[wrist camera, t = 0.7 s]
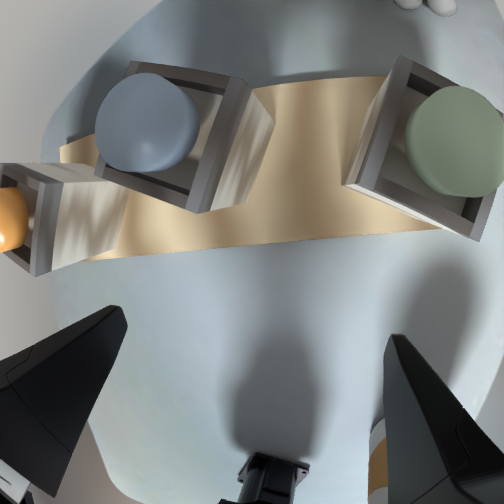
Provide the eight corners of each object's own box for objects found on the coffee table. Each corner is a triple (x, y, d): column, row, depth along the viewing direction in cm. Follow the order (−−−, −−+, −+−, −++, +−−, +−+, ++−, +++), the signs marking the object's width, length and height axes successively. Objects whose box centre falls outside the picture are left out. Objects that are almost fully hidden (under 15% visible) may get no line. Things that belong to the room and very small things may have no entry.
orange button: (26, 257, 16) (3, 264, 14) (-3, 235, 16) (-24, 240, 14) (32, 196, 15) (7, 199, 13) (2, 180, 15) (-20, 182, 13)
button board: (449, 225, 20) (527, 254, 10) (80, 259, 28) (-2, 290, 17) (429, 80, 18) (489, 22, 8) (66, 148, 26) (-19, 144, 15)
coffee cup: (372, 464, 26) (376, 579, 11) (347, 420, 25) (347, 557, 11) (443, 435, 24) (475, 545, 9) (429, 385, 23) (477, 514, 8)
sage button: (471, 211, 10) (494, 216, 8) (391, 169, 11) (404, 166, 9) (494, 127, 9) (518, 120, 7) (417, 83, 10) (433, 66, 8)
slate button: (182, 184, 13) (159, 184, 11) (111, 160, 13) (84, 158, 11) (213, 95, 12) (195, 80, 10) (138, 80, 12) (113, 68, 10)
